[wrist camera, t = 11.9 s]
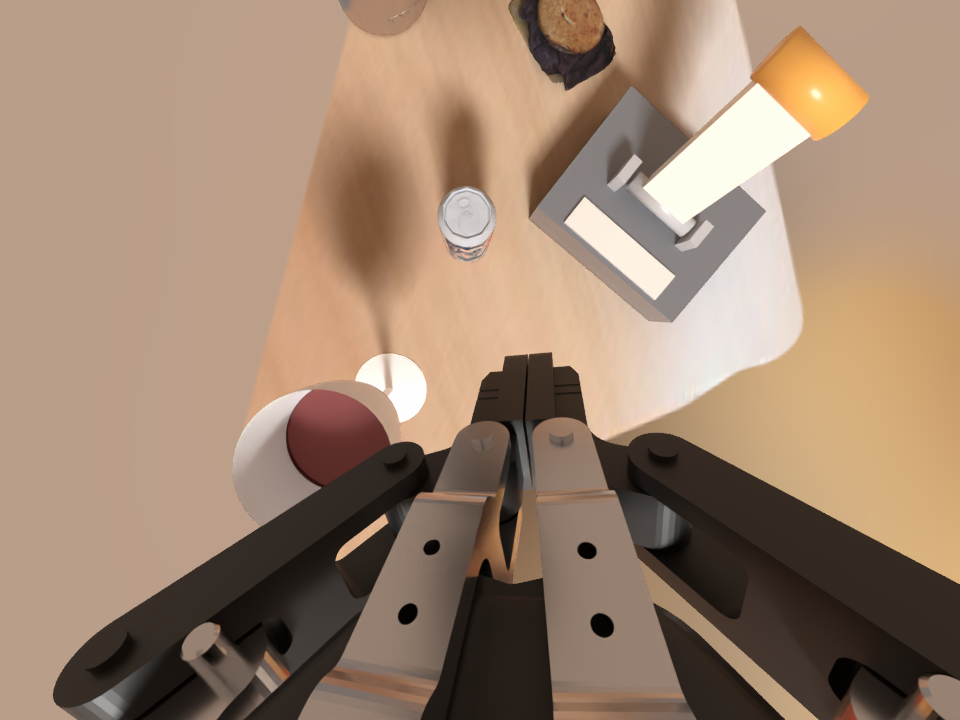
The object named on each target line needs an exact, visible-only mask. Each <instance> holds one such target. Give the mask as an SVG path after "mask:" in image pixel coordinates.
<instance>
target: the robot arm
mask: <svg viewBox="0 0 960 720" xmlns="http://www.w3.org/2000/svg"><path fill="white" fill-rule="evenodd" d="M339 2H340V4H341V7H342V9H343V11H344V12H345V13H346V15H347V16H348V18H349V19H350V20H351V21H352V22H353V23H354V24H355V25H356V26H358V27H359V28H361V29H362V30H364V31H366V32H369V33H372V34H375V35H382V36H386V35H394V34H397V33H400V32H402V31H404V30H405V29H407V28H409V27H410V26H411V25H412V24H413V23H414V22H415V21H416V20H417V19H418V17H419V16H420V14H421V12H422V11H423V8H424V5H425V3H426V0H339ZM479 391H480V392H479V394H478V398H477V399H478V400H477V402H476V405H475V409H474V413H473V417H472V420H471V424H470V425H468V426H467V427H465V428H463V429H462V430H461V431H460V432H459V433H458V434H457V436H456V438H455V440H454V443H453V445H452V447H450V448H448V449H445V450H442V451H438V452H434V453H430V454H427V455H424V452H423V449H422V448H421V446H419V445H418V444H416V443H413V442H399V443H395V444H392V445H389V446H387V447H385V448H383V449H381V450H380V451H378V452H377V453H375V454H374V455H372V456H371V457H369V458H367V459H366V460H364V461H363V462H361V463H360V464H358V465H356V466H355V467H353V468H352V469H350V470H349V471H347V472H346V473H344V474H342V475H341V476H339V477H338V478H336V479H335V480H333V481H332V482H330V483H328V484H327V485H325V486H324V487H322V488H321V489H319V490H317V491H316V492H314V493H313V494H311V495H310V496H308V497H307V498H305V499H303V500H302V501H300V502H299V503H297V504H296V505H294V506H293V507H291V508H289V509H288V510H286V511H285V512H283V513H282V514H280V515H278V516H277V517H275V518H274V519H272V520H271V521H269V522H268V523H266V524H264V525H263V526H261V527H260V528H258V529H257V530H255V531H254V532H252V533H251V534H249V535H247V536H246V537H244V538H243V539H241V540H239V541H238V542H237V543H235V544H233V545H232V546H230V547H229V548H227V549H225V550H224V551H222V552H221V553H219V554H218V555H216V556H215V557H213V558H211V559H210V560H209V561H207V562H205V563H204V564H202V565H201V566H199V567H197V568H196V569H194V570H193V571H191V572H190V573H188V574H186V575H185V576H183V577H182V578H180V579H179V580H177V581H176V582H174V583H172V584H171V585H170V586H168V587H166V588H165V589H163V590H161V591H160V592H158V593H157V594H155V595H154V596H152V597H151V598H149V599H147V600H146V601H145V602H143V603H141V604H140V605H138V606H137V607H135V608H133V609H132V610H130V611H129V612H127V613H126V614H124V615H123V616H121V617H119V618H118V619H116V620H115V621H113V622H112V623H110V624H109V625H107V626H106V627H104V628H103V629H102V630H100V631H99V632H98V633H96V634H95V635H94V636H93V637H92V638H91V639H89V640H88V641H87V642H86V643H85V644H84V645H83V646H82V647H81V648H80V649H79V650H78V651H77V652H76V654H75V655H74V656H73V657H72V658H71V659H70V661H69V662H68V663H67V665H66V666H65V667H64V669H63V670H62V672H61V674H60V676H59V677H58V679H57V681H56V684H55V687H54V691H53V699H54V702H55V703H56V705H58V706H59V707H60V708H62V709H63V710H65V711H66V712H67V713H69V714H70V715H72V716H73V717H75V718H76V719H77V720H785V719H784V718H783V717H782V716H781V715H780V714H779V713H778V712H777V711H776V710H775V709H774V708H773V707H772V706H771V705H770V704H769V703H768V702H767V701H766V700H765V699H763V697H762V696H761V695H760V694H758V692H757V691H756V690H755V689H754V688H753V687H752V686H751V685H750V684H748V682H746V680H745V679H744V678H743V677H742V676H741V675H740V674H739V673H738V672H737V671H736V670H735V669H734V668H732V666H731V665H729V663H728V662H726V661H725V660H724V659H723V658H722V657H721V656H720V655H719V654H718V653H717V652H716V651H715V650H714V649H713V648H712V647H711V646H710V645H709V644H708V643H707V642H706V641H705V640H704V639H703V638H702V637H701V636H700V635H699V634H698V633H697V632H695V631H694V630H693V629H692V628H691V627H689V626H688V625H687V624H686V623H685V622H683V621H682V620H681V619H679V618H678V617H676V616H674V615H673V614H672V613H670V612H669V611H667V610H665V609H664V608H662V607H660V606H658V605H656V604H654V603H653V602H652V600H651V596H650V593H649V591H648V587H647V584H646V581H645V578H644V575H643V572H642V569H641V566H640V563H639V560H638V558H639V559H640V560H641V561H642V562H643V563H645V564H646V565H647V566H648V567H649V568H650V569H651V570H652V571H653V572H655V573H656V574H657V575H658V576H659V577H660V578H661V579H662V580H663V581H665V582H666V583H667V584H668V585H669V586H670V587H671V588H672V589H674V590H675V591H676V592H677V593H678V594H679V595H680V596H681V597H683V598H684V599H685V600H686V601H687V602H688V603H689V604H690V605H691V606H693V607H694V608H695V609H696V610H697V611H698V612H699V613H700V614H701V615H703V616H704V617H705V618H706V619H707V620H708V621H709V622H711V623H712V624H713V625H714V626H715V627H716V628H717V629H718V630H719V631H720V632H722V633H723V634H724V635H725V636H726V637H727V638H728V639H729V640H731V641H732V642H733V643H734V644H735V645H736V646H737V647H738V648H739V649H740V650H742V651H743V652H744V653H745V654H746V655H747V656H748V657H749V658H751V659H752V660H753V661H754V662H755V663H756V664H757V665H758V666H759V667H761V668H762V669H763V670H764V671H765V672H766V673H767V674H769V675H770V676H771V677H772V678H773V679H774V680H775V681H776V682H777V683H779V684H780V685H781V686H782V687H783V688H784V689H785V690H786V691H787V692H789V693H790V694H791V695H792V696H793V697H794V698H795V699H796V700H798V701H799V702H800V703H801V704H802V705H803V706H804V707H805V708H806V709H808V710H809V711H810V712H811V713H812V714H813V715H814V716H815V717H816V718H818V719H819V720H960V584H958V583H956V582H954V581H952V580H950V579H948V578H947V577H945V576H943V575H941V574H939V573H937V572H935V571H933V570H931V569H929V568H927V567H926V566H924V565H922V564H920V563H918V562H916V561H914V560H912V559H910V558H908V557H907V556H904V555H903V554H901V553H899V552H897V551H895V550H893V549H891V548H889V547H888V546H886V545H884V544H882V543H880V542H878V541H876V540H874V539H872V538H871V537H869V536H867V535H865V534H862V533H861V532H859V531H857V530H855V529H853V528H851V527H850V526H848V525H846V524H844V523H842V522H840V521H838V520H836V519H834V518H832V517H831V516H829V515H827V514H825V513H823V512H821V511H819V510H817V509H815V508H813V507H812V506H810V505H808V504H806V503H804V502H802V501H800V500H798V499H796V498H795V497H793V496H791V495H789V494H787V493H785V492H783V491H781V490H779V489H777V488H775V487H774V486H772V485H770V484H768V483H766V482H764V481H762V480H760V479H758V478H756V477H754V476H753V475H751V474H749V473H747V472H745V471H743V470H741V469H739V468H737V467H735V466H734V465H732V464H730V463H728V462H726V461H724V460H722V459H720V458H718V457H716V456H714V455H713V454H711V453H709V452H707V451H705V450H703V449H701V448H699V447H698V446H696V445H693V444H692V443H690V442H688V441H686V440H684V439H682V438H680V437H677V436H674V435H671V434H664V433H648V434H643V435H641V436H638V437H636V438H635V439H634V440H632V442H631V443H630V444H629V446H622V445H617V444H613V443H609V442H606V441H604V440H602V439H600V438H598V437H596V436H595V435H594V434H593V433H592V432H591V431H590V429H589V428H588V425H587V421H586V415H585V409H584V404H583V398H582V393H581V386H580V381H579V375H578V373H577V372H576V371H575V370H574V369H573V368H572V367H570V366H565V367H553V358H552V352H550V353H538V354H529V358H528V354H527V355H515V356H505V360H504V365H503V371H499V372H490V373H489V374H488V375H487V376H486V377H485V378H484V379H483V380H482V383H481V386H480V390H479ZM533 480H534V487H535V490H537V496H536V499H537V512H538V524H539V535H540V536H539V537H540V548H541V561H542V573H543V578H541V579H536V580H532V581H527V582H523V583H518V584H513V577H514V570H515V563H516V556H517V549H518V542H519V535H520V528H521V521H522V509H521V505H522V497H523V490H532V485H533ZM383 514H385V515H386V518H387V520H388V524H387V525H385V526H384V527H383V528H381V529H380V530H379V531H378V532H376V533H375V534H374V535H372V536H371V537H370V538H369V539H367V540H366V541H365V542H363V543H362V544H361V545H360V546H358V547H357V548H356V549H354V550H353V551H352V552H351V553H349V554H348V555H347V556H345V557H344V558H343V559H341V560H339V561H335V560H336V556H337V553H338V552H339V550H340V549H341V547H342V546H343V545H344V544H345V543H347V542H348V541H349V540H350V539H352V538H353V537H354V536H356V535H357V534H358V533H360V532H361V531H362V530H364V529H365V528H366V527H368V526H369V525H370V524H372V523H373V522H374V521H376V520H377V519H378V518H380V517H381V516H382V515H383Z"/></svg>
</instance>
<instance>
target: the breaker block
mask: <svg viewBox="0 0 960 720" xmlns="http://www.w3.org/2000/svg"><path fill="white" fill-rule="evenodd" d="M688 140H689V139H688V138H687V137H686V136H685V135H684V134H683V133H682V132H681V131H680V130H679V129H678V128H676V127H675V126H674V125H673V124H672V123H671V122H670V121H669V120H668V119H667V118H666V117H665V116H664V115H663V114H662V113H660V112H659V111H658V110H657V109H656V108H655V107H654V106H653V105H652V104H651V103H650V102H649V101H648V100H647V99H645V98H644V97H643V96H642V95H641V94H640V93H639V92H638V91H637V90H636V89H635V88H634V87H633V86H631V87H630V88H629V90H628V91H627V92H626V94H625V95H624V96H623V97H622V99H621V100H620V101H619V103H618V104H617V105H616V106H615V108H614V109H613V110H612V111H611V113H610V114H609V115H608V117H607V118H606V119H605V120H604V122H603V123H602V124H601V126H600V127H599V128H598V129H597V131H596V132H595V133H594V135H593V136H592V137H591V138H590V140H589V141H588V142H587V144H586V145H585V146H584V147H583V149H582V150H581V151H580V152H579V154H578V155H577V156H576V158H575V159H574V160H573V161H572V163H571V164H570V165H569V167H568V168H567V169H566V170H565V172H564V173H563V174H562V176H561V177H560V178H559V179H558V181H557V182H556V183H555V185H554V186H553V187H552V188H551V190H550V191H549V192H548V193H547V195H546V196H545V197H544V199H543V200H542V201H541V202H540V204H539V205H538V206H537V208H536V209H535V211H534V212H533V214H532V215H531V217H530V218H529V220H531V221H532V222H533V223H534V224H535V225H536V226H538V227H539V228H540V229H541V230H542V231H544V232H545V233H546V234H547V235H548V236H549V237H551V238H552V239H553V240H554V241H555V242H556V243H558V244H559V245H560V246H561V247H562V248H564V249H565V250H566V251H567V252H568V253H569V254H571V255H572V256H573V257H574V258H575V259H576V260H578V261H579V262H580V263H581V264H582V265H584V266H585V267H586V268H587V269H588V270H589V271H591V272H592V273H593V274H594V275H595V276H596V277H598V278H599V279H600V280H601V281H602V282H604V283H605V284H606V285H607V286H608V287H609V288H611V289H612V290H613V291H614V292H615V293H616V294H618V295H619V296H620V297H621V298H622V299H624V300H625V301H626V302H627V303H628V304H629V305H631V306H632V307H633V308H634V309H635V310H636V311H638V312H639V313H640V314H641V315H642V316H644V317H645V318H646V319H647V320H648V321H656V322H673V321H674V320H675V319H676V317H677V316H678V315H679V314H680V313H681V312H682V310H683V309H684V308H685V307H686V306H687V304H688V303H689V302H690V301H691V300H692V298H693V297H694V296H695V295H696V294H697V293H698V291H699V290H700V289H701V288H702V287H703V285H704V284H705V283H706V282H707V281H708V280H709V278H710V277H711V276H712V275H713V274H714V272H715V271H716V270H717V269H718V268H719V266H720V265H721V264H722V263H723V262H724V261H725V259H726V258H727V257H728V256H729V255H730V253H731V252H732V251H733V250H734V249H735V247H736V246H737V245H738V244H739V243H740V242H741V240H742V239H743V238H744V237H745V236H746V234H747V233H748V232H749V231H750V230H751V228H752V227H753V226H754V225H755V224H756V223H757V221H758V220H759V219H760V218H761V217H762V215H763V214H764V213H765V212H766V211H765V210H764V209H763V208H762V207H761V206H760V205H759V204H758V203H757V202H756V201H755V200H754V199H752V198H751V197H750V196H749V195H748V194H747V193H746V192H745V191H744V190H743V189H742V188H741V187H740V186H737V187H736V188H734V189H733V190H731V191H730V192H729V193H727V194H726V195H724V196H723V197H721V198H720V199H718V200H717V201H716V202H714V203H713V204H711V205H710V206H708V207H707V208H705V209H704V210H703V211H701V212H700V213H698V214H697V215H695V216H694V217H692V218H693V219H694V220H695V221H696V223H695V225H694V226H693V228H692V229H691V230H690V231H689V232H687V233H686V234H685V235H683V236H681V237H679V236H678V235H677V234H676V233H675V232H674V231H673V230H672V229H671V228H669V227H668V226H667V225H666V224H665V223H664V222H663V221H662V220H660V219H659V218H658V217H657V216H656V215H655V214H654V213H653V212H651V211H650V210H649V209H648V208H647V207H646V206H645V205H644V204H643V203H641V202H640V201H639V200H638V199H637V198H636V197H635V196H634V195H632V194H631V193H630V192H629V191H628V190H627V189H626V187H627V185H628V184H629V183H630V181H631V180H632V179H633V178H634V177H635V176H636V175H637V174H638V173H639V172H640V171H641V172H642V173H643V174H644V175H645V176H647V177H648V178H650V176H651V175H652V174H653V173H654V172H655V171H656V170H657V169H658V168H659V167H661V166H662V165H663V164H664V163H665V162H666V161H667V160H668V159H669V158H670V157H671V156H672V155H673V154H674V153H676V152H677V151H678V150H679V149H680V148H681V147H682V146H683V145H684V144H685V143H686V142H687V141H688Z"/></svg>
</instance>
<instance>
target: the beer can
mask: <svg viewBox="0 0 960 720" xmlns="http://www.w3.org/2000/svg"><path fill="white" fill-rule="evenodd" d="M438 223H439V227H440V230H441V233H442V236H443V239H444V242H445V245H446V248H447V250H448V252H449V253H450V255H451V256H452V257H453V258H454V259H456V260H458V261H460V262H464V263H470V262H474V261H477V260H479V259H480V258H481V257H482V256H483V255H484V254H485V252H486V251H487V249H488V246H489V243H490V240H491V237H492V234H493V231H494V228H495V224H496V211H495V207H494V204H493V202H492V200H491V199H490V197H489V196H488V195H487V194H486V193H485V192H483V191H482V190H481V189H478V188H476V187H472V186H461V187H457V188H455V189H453V190H451V191H450V192H449V193H447V194H446V195H445V196H444V198H443V200H442V201H441V203H440V205H439V209H438Z"/></svg>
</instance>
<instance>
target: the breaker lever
mask: <svg viewBox="0 0 960 720" xmlns="http://www.w3.org/2000/svg"><path fill="white" fill-rule="evenodd" d="M750 78H751V79H752V80H753V81H752V82H750V83H749V84H748V85H747V86H746V87H745V88H744V89H743V90H742V91H741V92H740V93H739V94H738V95H737V96H735V97H734V98H733V99H732V100H731V101H730V102H729V103H728V104H727V105H726V106H725V107H724V108H723V109H722V110H720V111H719V112H718V113H717V114H716V115H715V116H714V117H713V118H712V119H711V120H710V121H709V122H708V123H707V124H705V125H704V126H703V127H702V128H701V129H700V130H699V131H698V132H697V133H696V134H695V135H694V136H693V137H692V138H690V139H689V140H688V141H687V142H686V143H685V144H684V145H683V146H682V147H681V148H680V149H679V150H678V151H677V152H676V153H674V154H673V155H672V156H671V157H670V158H669V159H668V160H667V161H666V162H665V163H664V164H663V165H662V166H661V167H659V168H658V169H657V170H656V171H655V172H654V173H653V174H652V175H651V176H650V178H648V177H647V176H645V175H644V174H643V173H642V172H641V171H640V172H639V173H638V174H637V175H636V176H635V177H634V178H633V179H632V180H631V181H630V183H629V184H628V185H627V187H626V189H627V190H628V191H629V192H630V193H631V194H632V195H634V196H635V197H636V198H637V199H638V200H639V201H640V202H641V203H643V204H644V205H645V206H646V207H647V208H648V209H649V210H650V211H651V212H653V213H654V214H655V215H656V216H657V217H658V218H659V219H660V220H662V221H663V222H664V223H665V224H666V225H667V226H668V227H669V228H671V229H672V230H673V231H674V232H675V233H676V234H677V235H678V236H679V237H681V236H683V235H685V234H686V233H687V232H689V231H690V230H691V229H692V228H693V226H694V225H695V223H696V221H695V220H694V219H693V218H692V217H694V216H695V215H697V214H698V213H700V212H701V211H703V210H704V209H705V208H707V207H708V206H710V205H711V204H713V203H714V202H716V201H717V200H718V199H720V198H721V197H723V196H724V195H726V194H727V193H729V192H730V191H731V190H733V189H734V188H736V187H737V186H739V185H740V184H742V183H743V182H745V181H746V180H747V179H749V178H750V177H752V176H753V175H755V174H756V173H758V172H759V171H760V170H762V169H763V168H765V167H766V166H768V165H769V164H771V163H772V162H773V161H775V160H776V159H778V158H779V157H781V156H782V155H783V154H785V153H787V152H788V151H789V150H791V149H792V148H794V147H795V146H797V145H798V144H800V143H801V142H802V141H804V140H805V139H807V138H808V137H811V138H812V139H813V140H814V141H817V140H820V139H823V138H825V137H826V136H828V135H830V134H832V133H833V132H835V131H836V130H837V129H839V128H840V127H842V126H843V125H844V124H846V123H847V122H848V121H849V120H851V119H852V118H853V117H854V116H855V115H856V114H857V113H858V112H859V111H860V110H861V109H862V108H863V107H864V106H865V104H866V103H867V102H868V100H869V95H868V94H867V93H866V92H865V91H864V90H863V89H862V88H861V87H860V86H859V85H858V84H857V83H856V82H855V81H854V80H853V79H852V78H851V77H850V76H849V75H848V74H847V73H846V72H845V71H844V70H843V69H842V68H841V67H840V66H839V64H838V63H836V61H835V60H834V59H833V58H832V57H831V56H830V55H829V54H828V53H827V52H826V51H825V50H824V49H823V48H822V47H821V46H820V45H819V44H818V43H817V42H816V41H815V40H814V39H813V38H812V37H811V36H810V35H809V34H808V33H807V32H806V31H805V30H804V29H803V28H802V27H801V26H799V27H798V28H796V29H795V30H793V31H792V32H791V33H790V34H789V35H788V36H786V37H785V38H784V39H783V40H782V41H781V42H780V43H779V44H778V45H777V46H776V47H775V48H774V49H773V50H772V51H771V52H770V53H769V54H768V55H767V56H766V57H765V59H764V60H763V61H762V62H761V63H760V64H759V65H758V66H757V68H756V69H755V70H754V72H753V73H752V74H751V76H750Z"/></svg>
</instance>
